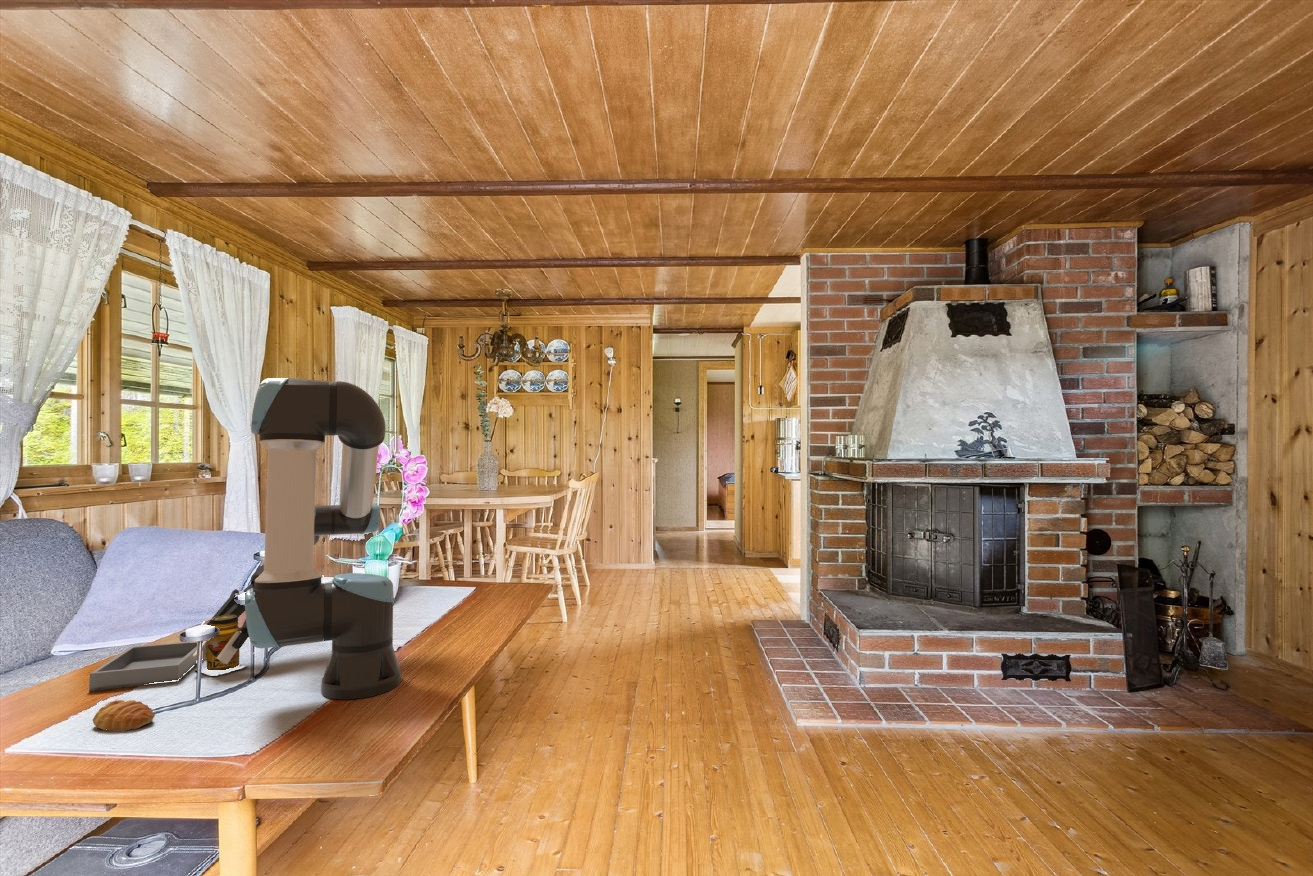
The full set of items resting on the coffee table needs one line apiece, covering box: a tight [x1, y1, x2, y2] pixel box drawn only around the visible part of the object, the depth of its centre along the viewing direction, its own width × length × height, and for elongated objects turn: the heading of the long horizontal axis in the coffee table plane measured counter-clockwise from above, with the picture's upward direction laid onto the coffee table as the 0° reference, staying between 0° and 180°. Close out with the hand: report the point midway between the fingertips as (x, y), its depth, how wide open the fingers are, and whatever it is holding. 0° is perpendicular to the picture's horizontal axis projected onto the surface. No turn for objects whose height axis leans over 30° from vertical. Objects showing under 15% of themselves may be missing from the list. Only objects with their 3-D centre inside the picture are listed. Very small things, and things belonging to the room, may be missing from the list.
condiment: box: [205, 615, 241, 670], centre depth 138 cm, size 7×8×12 cm
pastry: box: [92, 699, 156, 731], centre depth 110 cm, size 9×7×4 cm
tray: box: [88, 641, 197, 692], centre depth 136 cm, size 19×15×4 cm
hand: (209, 659), depth 134 cm, fingers closed on condiment, 6 cm apart
